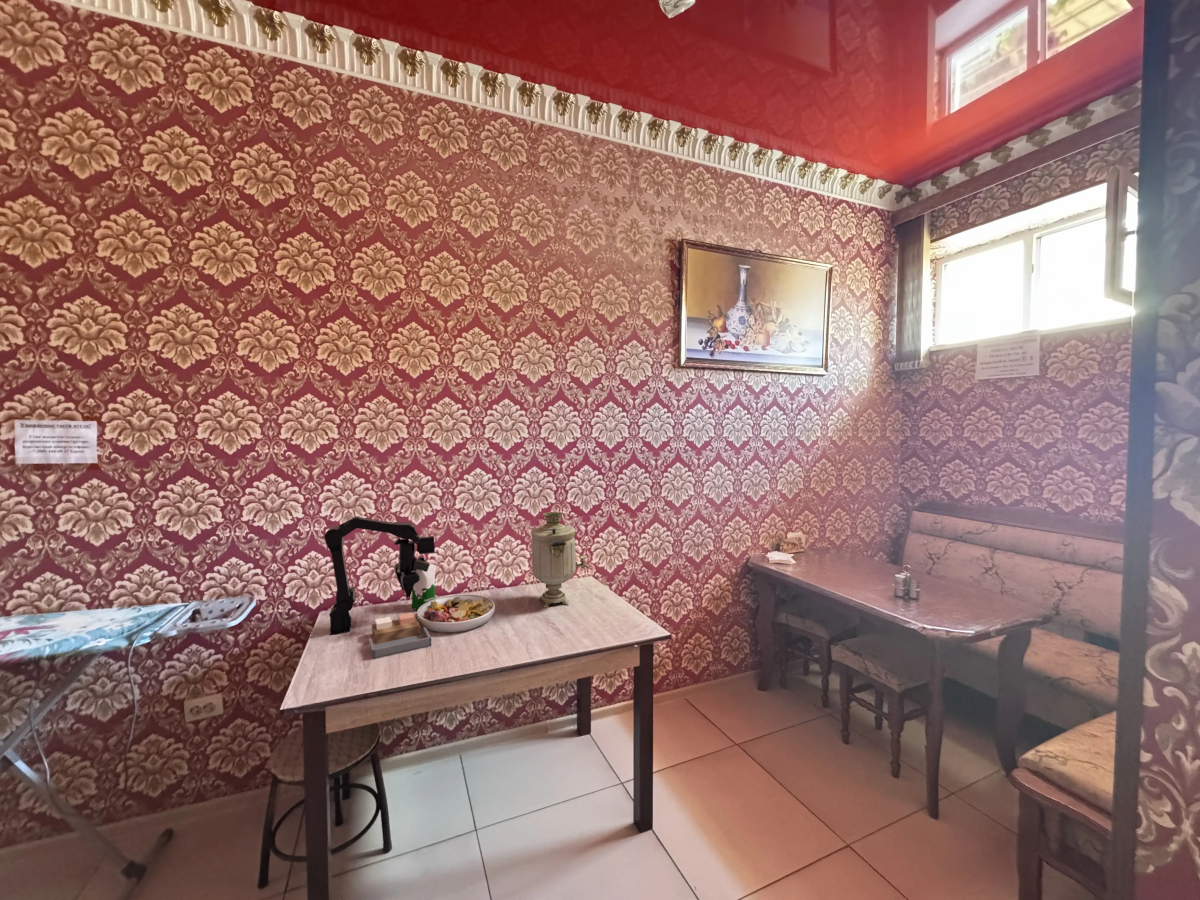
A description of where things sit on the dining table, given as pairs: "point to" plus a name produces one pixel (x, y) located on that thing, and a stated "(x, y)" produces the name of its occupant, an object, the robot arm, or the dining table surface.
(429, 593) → the milk carton
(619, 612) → the dining table surface
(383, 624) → the cream tile
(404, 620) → the terracotta tile
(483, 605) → the bowl
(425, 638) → the tray
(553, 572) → the samovar
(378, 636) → the board
